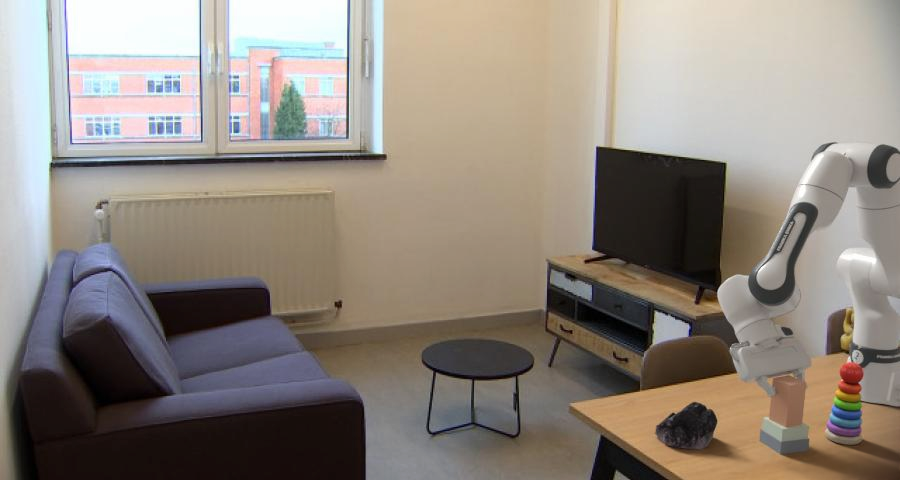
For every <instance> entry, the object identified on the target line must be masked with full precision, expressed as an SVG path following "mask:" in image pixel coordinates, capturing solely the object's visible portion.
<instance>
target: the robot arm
mask: <svg viewBox="0 0 900 480" xmlns="http://www.w3.org/2000/svg"><path fill="white" fill-rule="evenodd" d="M810 160H811V161H810V163H809V164H808V166H807V167H806V169H805V171H804V172H803V174H802V175H801V177H800V180H799V182H798V183H797V186H796V189H795V191H794V193H793V195H792V199H791V201H790V204H789V207H788V211H787V212H786V213H787V214H786V217H785V219H784V221H783V222H782V225H781V227H780V228H779V231H778V233H777V235H776V237H775V239H774V241H773V243H772V245H771V247H770V249H769V251H768V252H767V254H765V256H764V257H763V258H762V260H760V261H759V262H758V263H757V264H756V265H754V267H753V268H752V270H750V273H749V274H748V275H744V274H734V275H732V276H730V277H728V278H727V279H725V280H724V281H723V282H722V283H721V284H720V286H719V287H718V289H717V293H716V295H717V296H716V297H717V300H718V303H719V305H720V308H721V311H722V312H723V314H724V316H725V318H726V320H727V322H728V323H729V324H730V325H731V326H732V328H733V330H734V334H735V336H736V338H737V340H738V342H737V343H733V344H731V346H730V347H729V353H730V356H731V357H732V361H733V365H734V368H735V370H736V373H737V375H738V376H739V377H738V378H739V379H740V380H741V381H743V382H744V383H745V384H747V383H752V382H756V383H757V386H759V387H760V389H763V391H765V392H766V394H767V396H768V397H769V398H771V397H773V396H776V395H777V394H778V391H777V390H776V387H772V385H771V383H770V382H769V380H768V379H773V378H776V377H782V376H788V375H793V376H792V377H795V378H797V379H800V380H802V381H804V382H806V376H805V371H806V370H808V369H809V368H811V366H812V358H811V356H810V354H809V353H808V350H807V349H806V348H805V346H804V344H803V343H802V341H800V339H798V338H797V337H795V336H797V333H796V330H795V329H794V328H792V327H790V326H784V325H780V324H777V323H773V321H772V319H773V318H777V317H782V316H784V315H787V314H790V313H791V312H793V311H794V310H795V309H796V308H798V306H799V304H800V302H801V298H802V296H801V295H802V293H801V289H800V287H799V285H798V283H797V281H796V273H795V269H796V264H797V263H798V260H799V258H800V256H801V255H802V252H803V250H804V247H805V246H806V244H807V242H808V239H809V238H810V237H811V235H812V234H814V233H815V232H820V231H823V230H826V229H827V228H830V226H831V225H832V224H833V222H834V221H835V219H836V218H837V217H838V215H839V213H840V211H841V209H842V207H843V204H844V202H845V201H846V197H847V195H848V191H849V188H854V189H855V191H854V201H855V203H854V204H855V217H856V219H855V220H856V231H857V233H858V236H860V238H861V239H862V240H863V241H864V242H865V243H867V244H868V245H869V247H849V248H847V249H845V250H843V252H841V254H840V255H839V257H838V259H837V262H836V272H837V273H836V274H837V276H838V278H839V279H840V281H842V282H843V284H844V285H845V286H846V289H847V291H848V292H849V296H850V298H851V302H852V305H853V306H852V307H854V331H853V339H852V340H851V344H850V351H849V353H850V354H849V356H848V358H847V361H846V363H848V362H854V363H857V364H859V365H860V366H861V367H862V369H863V372H864V376H863V378H862V380H861V381H860V382H859V384H860V385H861V386H862V390H861V391H860V392H859V393H860V394H861V400H860V401H862V402H866V403H871V404H880V405H881V404H882V405H888V406H892V407H900V346H899V345H900V344H899V343H900V314H899V313H898V311H897V310H896V309H894V307H893V306H892V304H891V303H890V301H889V300H890V299H889V298H888V297H891V298H895V299H898V300H900V150H899V149H898V148H897V147H895V146H892V145H890V144H884V143H881V144H877V143H872V142H871V143H870V142H864V141H863V142H861V141H856V142H836V141H835V142H834V141H833V142H827V143H823V144H821V145H820V146H818V148H817V149H816V150H815V151H814V152H813V153H812V156H811V159H810ZM840 381H843V380H842V379H841V380H840ZM806 389H808V384H807V383H806Z"/></svg>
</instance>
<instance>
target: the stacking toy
mask: <svg viewBox="0 0 900 480" xmlns="http://www.w3.org/2000/svg"><path fill="white" fill-rule="evenodd" d="M839 376H840V378H841V380H843V381H841V380H840V381H839V382H838V383H837V388H838V389H837V390H835V397H834V398H833V405H832V406H831V413H830V414H829V420H828V421H827V423H826V429H825V431H824V434H825V437H827V439H828V440H830V441H832V442H834V443H838V444H841V445H849V446H850V445H851V446H853V445H858V444H860V443H861V442H862V441H863V435H862V429H863V428H862V424H863V419H862V415H863V411H862V410H861V409H862V407H863V403H862V402H861V394H860V393H859V392H860V391H861V390H862V386H861V385H860V384H859V382H860V381H861V380H862V378H863V376H864V372H863V369H862V367H861V366H860V365H859V364H857V363H854V362H848V363H847V362H846V363H844V364H842V365H841V367H840V369H839Z"/></svg>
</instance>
